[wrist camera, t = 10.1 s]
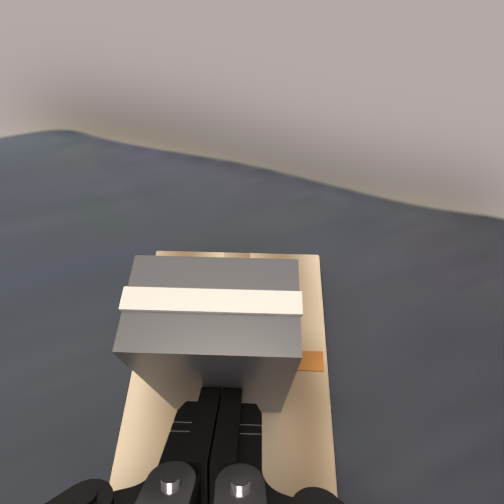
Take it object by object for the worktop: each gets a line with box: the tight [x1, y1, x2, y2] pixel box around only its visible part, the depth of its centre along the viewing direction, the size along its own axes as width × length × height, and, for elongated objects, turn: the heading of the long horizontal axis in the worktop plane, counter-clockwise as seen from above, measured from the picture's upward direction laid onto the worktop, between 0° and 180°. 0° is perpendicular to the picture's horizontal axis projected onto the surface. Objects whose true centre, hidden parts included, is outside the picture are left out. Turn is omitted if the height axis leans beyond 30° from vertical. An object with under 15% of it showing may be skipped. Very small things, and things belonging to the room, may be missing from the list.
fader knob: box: [112, 255, 303, 412], centre depth 15 cm, size 5×3×11 cm, turn 88°
